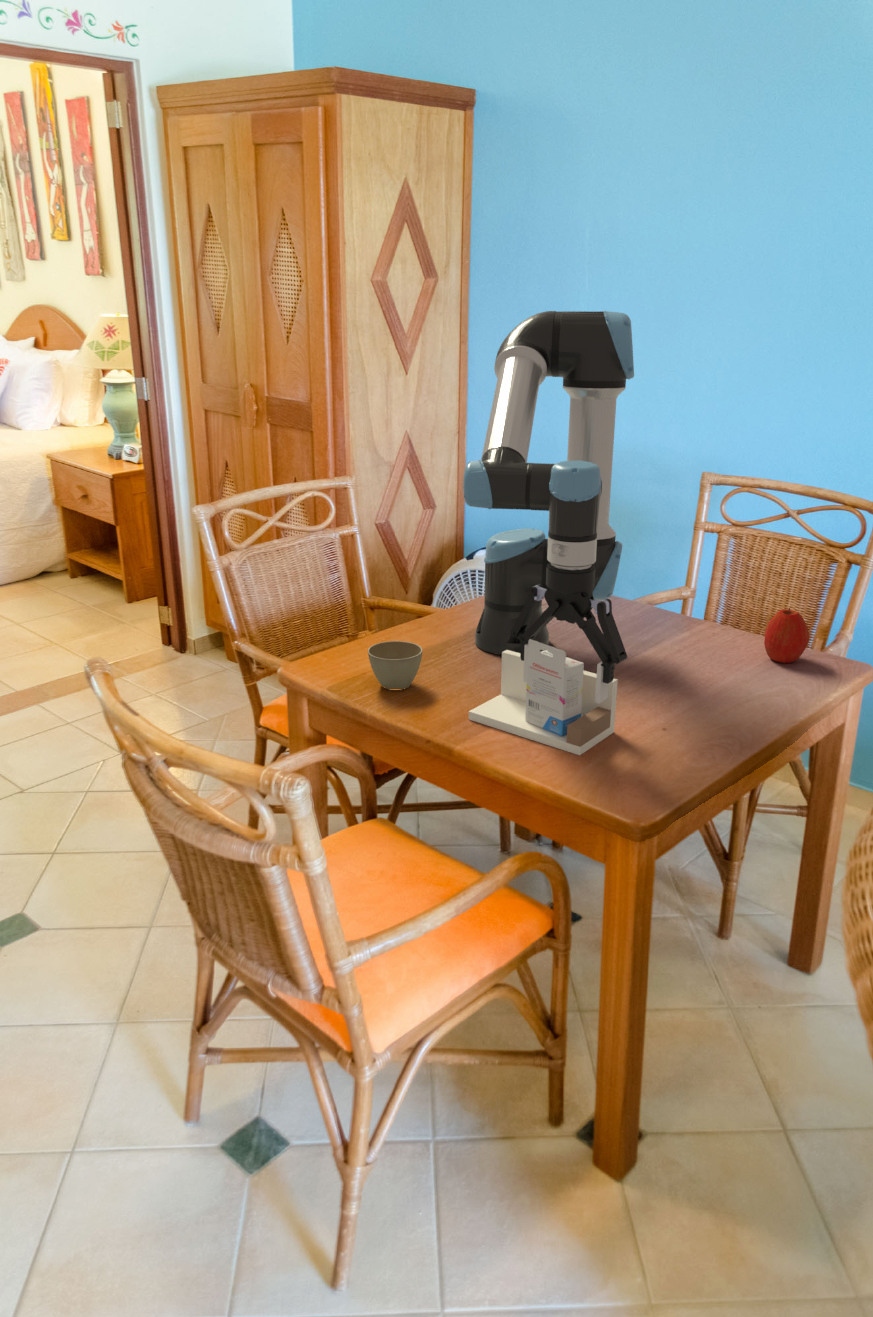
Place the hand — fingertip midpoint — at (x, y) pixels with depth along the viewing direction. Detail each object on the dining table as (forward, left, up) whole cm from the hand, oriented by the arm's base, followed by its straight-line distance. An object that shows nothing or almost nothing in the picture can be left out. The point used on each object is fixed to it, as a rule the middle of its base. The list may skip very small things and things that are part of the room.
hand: (564, 689), depth 165 cm
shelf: (-5, +1, -8) cm, 10 cm away
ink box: (-2, 0, -7) cm, 7 cm away
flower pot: (-35, -1, -8) cm, 36 cm away
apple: (+16, +57, -8) cm, 60 cm away
